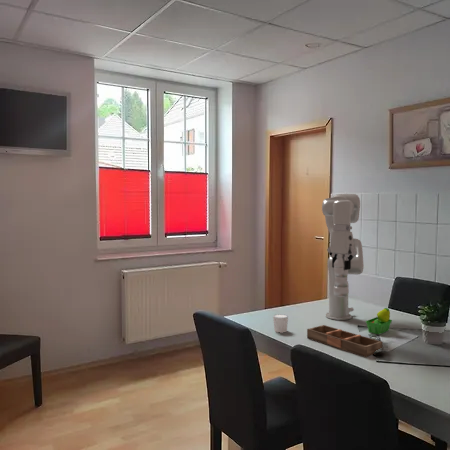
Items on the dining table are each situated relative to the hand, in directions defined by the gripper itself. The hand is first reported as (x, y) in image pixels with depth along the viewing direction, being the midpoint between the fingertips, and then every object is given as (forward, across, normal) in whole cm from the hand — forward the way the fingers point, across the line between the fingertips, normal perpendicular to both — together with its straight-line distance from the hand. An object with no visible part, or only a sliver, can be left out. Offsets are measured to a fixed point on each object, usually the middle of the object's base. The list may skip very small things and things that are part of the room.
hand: (341, 267), depth 206 cm
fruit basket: (+30, -10, -15) cm, 35 cm away
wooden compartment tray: (+29, -12, +13) cm, 34 cm away
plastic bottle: (+13, 0, 0) cm, 13 cm away
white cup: (+29, +18, +20) cm, 40 cm away
